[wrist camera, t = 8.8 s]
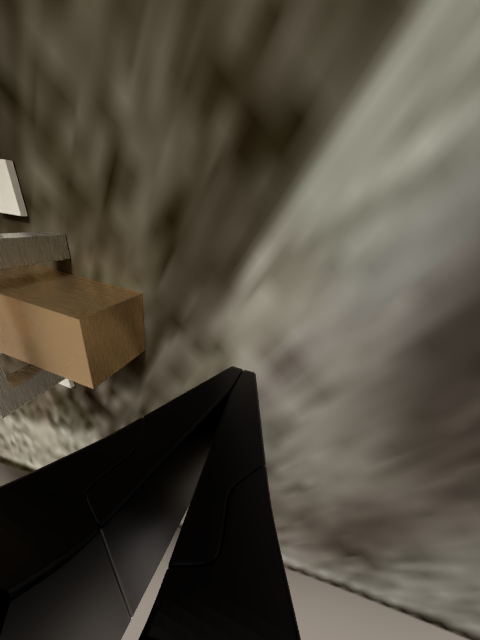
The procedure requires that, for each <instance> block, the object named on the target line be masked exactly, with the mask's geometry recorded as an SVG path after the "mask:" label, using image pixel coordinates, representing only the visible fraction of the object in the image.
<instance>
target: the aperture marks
mask: <svg viewBox="0 0 480 640" xmlns="http://www.w3.org/2000/svg"><path fill="white" fill-rule="evenodd" d="M0 213H6V214H12V215H18V216H28V215H27V212H26V208H25V204H24V201H23V197H22V194H21V190H20V186H19V183H18V179H17V176H16V172H15V168H14V165H13V161H10V160H5V159H0ZM59 384H61V385H64V386H66V387H69V388H72V387H74V386H75V384H74V381H72V380H69V379H67V378H66V379H64V380H63V381H61V382H60V383H59Z"/></svg>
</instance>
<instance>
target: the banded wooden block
mask: <svg viewBox="0 0 480 640" xmlns="http://www.w3.org/2000/svg"><path fill="white" fill-rule="evenodd" d="M145 350H146V349H145V332H144V316H143V300H142V293H139V292H135V291H132V290H128V289H124V288H120V287H117V286H113V285H109V284H105V283H102V282H98V281H94V280H91V279H87V278H83V277H79V276H76V275H72V274H68V273H64V272H61V271H57V270H53V269H50V268H46V267H42V266H38V265H35V264H32V265H26V266H19V267H13V268H7V269H0V352H1V353H4V354H6V355H9V356H11V357H14V358H17V359H19V360H22V361H24V362H27V363H29V364H32V365H34V366H37V367H39V368H42V369H44V370H47V371H49V372H52V373H54V374H57V375H59V376H62V377H64V378H67V379H69V380H72V381H74V382H77V383H79V384H82V385H84V386H87V387H89V388H92V389H94V388H96V387H97V386H98V385H100V384H101V383H102V382H104V381H105V380H106V379H108V378H109V377H110V376H111V375H113V374H114V373H115V372H117V371H118V370H119V369H121V368H122V367H123V366H125V365H126V364H127V363H129V362H130V361H131V360H133V359H134V358H135V357H137V356H138V355H139V354H141V353H142V352H143V351H145Z"/></svg>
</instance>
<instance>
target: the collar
mask: <svg viewBox="0 0 480 640" xmlns="http://www.w3.org/2000/svg"><path fill="white" fill-rule="evenodd" d="M64 259H70V255H69V251H68V246H67V242H66V237H65V235H63V234H58V233H53V232H24V233H1V234H0V269H7V268H13V267H19V266H26V265H32V264H39V263H45V262H51V261H58V260H64ZM64 379H66V378H64V377H62V376H59V375H57V374H54V373H52V372H49V371H47V370H44V369H42V368H39V367H37V366H34V365H32V364H30V365H28V366H26V367H24V368H22V369H20V370H18V371H16V372H14V373H12V374H10V375H8V376H5V373H4V371H3V369H2V367H1V364H0V417H1V418H4V417H6V416H7V415H9V414H10V413H12V412H14V411H15V410H17V409H18V408H20V407H22V406H23V405H25V404H26V403H28V402H30V401H31V400H33V399H34V398H36V397H37V396H39V395H41V394H42V393H44V392H45V391H47V390H49V389H50V388H52V387H53V386H55V385H57V384H58V383H60V382H61V381H63V380H64Z"/></svg>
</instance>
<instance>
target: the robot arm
mask: <svg viewBox="0 0 480 640" xmlns="http://www.w3.org/2000/svg"><path fill="white" fill-rule="evenodd" d="M265 465H266V462H265V453H264V444H263V436H262V427H261V418H260V409H259V400H258V392H257V383H256V375H255V373H254V372H250V371H247V370H244V371H243V370H242V369H240V368H237V367H233V366H232V367H230V368H228V369H226V370H224V371H223V372H221V373H219V374H217V375H216V376H214V377H212V378H210V379H209V380H207V381H205V382H203V383H202V384H200V385H198V386H196V387H195V388H193V389H191V390H189V391H187V392H186V393H184V394H182V395H180V396H179V397H177V398H175V399H173V400H172V401H170V402H168V403H166V404H165V405H163V406H161V407H159V408H158V409H156V410H154V411H152V412H150V413H149V414H147V415H145V416H144V417H143V418H140V419H138V420H136V421H134V422H133V423H131V424H129V425H127V426H125V427H124V428H122V429H120V430H118V431H116V432H114V433H112V434H111V435H109V436H107V437H105V438H103V439H101V440H99V441H97V442H95V443H93V444H91V445H89V446H86V447H84V448H82V449H80V450H78V451H76V452H74V453H72V454H70V455H67V456H65V457H63V458H61V459H59V460H57V461H55V462H53V463H50V464H48V465H46V466H44V467H42V468H40V469H38V470H35V471H33V472H31V473H29V474H27V475H25V476H23V477H20V478H18V479H16V480H14V481H12V482H10V483H7V484H5V485H3V486H0V640H121V639H122V636H123V635H124V633H125V631H126V629H127V627H128V625H129V623H130V620H131V617H132V616H133V615H134V613H135V610H136V609H137V607H138V605H139V603H140V601H141V599H142V597H143V595H144V593H145V591H146V589H147V587H148V585H149V583H150V581H151V579H152V577H153V575H154V573H155V571H156V569H157V567H158V565H159V563H160V561H161V559H162V557H163V555H164V553H165V552H166V550H167V548H168V546H169V544H170V542H171V540H172V538H173V536H174V534H175V531H176V530H177V528H178V526H179V524H180V522H181V520H182V518H183V516H184V514H185V512H186V510H187V508H188V506H189V504H190V506H189V508H188V511H187V514H186V517H185V520H184V522H183V525H182V528H181V531H180V534H179V537H178V539H177V542H176V545H175V548H174V551H173V554H172V557H171V559H170V562H169V567H168V569H167V571H166V574H165V576H164V579H163V582H162V584H161V587H160V590H159V592H158V595H157V597H156V600H155V602H154V605H153V608H152V610H151V612H150V615H149V617H148V620H147V622H146V624H145V626H144V629H143V631H142V633H141V636H140V638H139V640H301V639H300V634H299V630H298V626H297V621H296V617H295V612H294V608H293V604H292V600H291V595H290V591H289V586H288V582H287V577H286V573H285V568H284V564H283V560H282V555H281V551H280V546H279V542H278V537H277V532H276V527H275V522H274V517H273V512H272V507H271V500H270V493H269V486H268V478H267V469H266V467H265ZM190 502H191V503H190Z"/></svg>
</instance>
